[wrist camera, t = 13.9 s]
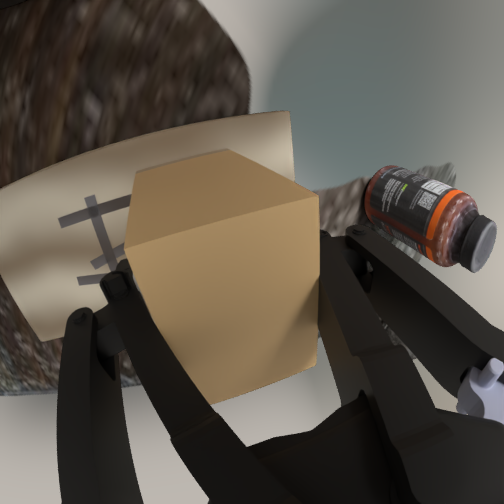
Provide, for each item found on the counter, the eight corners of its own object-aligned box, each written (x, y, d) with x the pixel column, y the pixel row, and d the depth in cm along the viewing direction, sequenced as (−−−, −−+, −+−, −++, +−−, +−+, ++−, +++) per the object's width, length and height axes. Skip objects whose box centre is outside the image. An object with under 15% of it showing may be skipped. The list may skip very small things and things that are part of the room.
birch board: (-21, 200, 12) (-29, 206, 11) (281, 110, 17) (289, 111, 16) (44, 332, 18) (41, 342, 17) (291, 261, 24) (298, 269, 23)
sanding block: (135, 171, 15) (123, 248, 7) (226, 148, 16) (318, 195, 8) (170, 283, 19) (200, 407, 11) (245, 260, 20) (316, 365, 12)
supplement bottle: (395, 225, 26) (482, 282, 17) (354, 223, 24) (452, 293, 15) (410, 168, 24) (508, 213, 14) (369, 157, 22) (486, 205, 12)
